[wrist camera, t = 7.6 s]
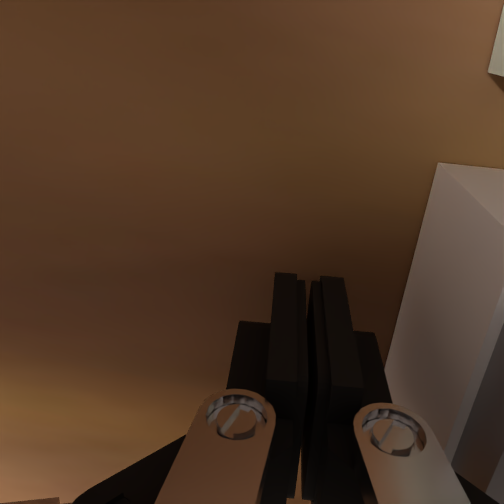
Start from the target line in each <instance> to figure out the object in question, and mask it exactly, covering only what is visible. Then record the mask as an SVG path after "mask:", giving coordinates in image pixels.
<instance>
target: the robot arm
mask: <svg viewBox="0 0 504 504" xmlns="http://www.w3.org/2000/svg"><path fill="white" fill-rule="evenodd" d="M300 449H301V481H302V499H303V500H311V504H500V503H498V502H497V501H495V500H494V499H493V498H491V497H490V496H488V495H487V494H486V493H484V492H483V491H481V490H480V489H479V488H477V487H476V486H474V485H473V484H472V483H470V482H469V481H467V480H466V479H465V478H463V477H462V476H460V475H459V474H458V473H456V472H455V471H454V470H453V468H452V467H451V465H450V463H449V461H448V459H447V457H446V455H445V453H444V451H443V449H442V448H441V446H440V444H439V442H438V440H437V438H436V436H435V434H434V432H433V431H432V429H431V428H430V426H429V425H428V424H427V422H426V421H425V420H424V419H422V418H421V417H420V416H419V415H418V414H416V413H415V412H413V411H411V410H409V409H407V408H405V407H402V406H399V405H396V404H393V402H392V398H391V394H390V390H389V387H388V383H387V379H386V375H385V371H384V367H383V363H382V359H381V355H380V351H379V347H378V343H377V340H376V336H375V334H374V333H373V332H362V331H353V326H352V321H351V315H350V310H349V305H348V299H347V294H346V289H345V283H344V279H343V278H340V277H328V276H321V277H320V281H312V282H311V288H310V296H309V305H308V314H307V318H306V290H305V280H297V274H291V273H279V272H275V279H274V291H273V303H272V315H271V323H259V322H248V321H239V325H238V330H237V335H236V341H235V346H234V351H233V356H232V362H231V367H230V372H229V378H228V383H227V388H226V390H222V391H220V392H217V393H214V394H212V395H211V396H210V397H208V398H207V399H205V400H204V402H203V403H202V405H201V406H200V407H199V409H198V411H197V413H196V416H195V418H194V420H193V422H192V424H191V426H190V428H189V431H188V433H187V434H186V435H184V436H183V437H181V438H179V439H177V440H176V441H174V442H172V443H170V444H168V445H167V446H165V447H163V448H161V449H159V450H158V451H156V452H154V453H152V454H151V455H149V456H147V457H145V458H143V459H142V460H140V461H138V462H136V463H135V464H133V465H131V466H129V467H127V468H126V469H124V470H122V471H120V472H118V473H117V474H115V475H113V476H111V477H110V478H108V479H106V480H104V481H102V482H101V483H99V484H97V485H95V486H93V487H92V488H90V489H88V490H87V491H86V492H84V493H83V494H81V495H80V496H79V497H77V498H76V499H75V501H74V502H73V503H64V504H286V499H287V498H294V496H295V489H296V481H297V473H298V465H299V457H300ZM0 504H60V500H59V497H56V498H46V499H37V500H27V501H18V502H8V503H0Z"/></svg>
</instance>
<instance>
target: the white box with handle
mask: <svg viewBox="0 0 504 504" xmlns="http://www.w3.org/2000/svg"><path fill="white" fill-rule="evenodd" d="M384 371H385V375H386V379H387V383H388V387H389V390H390V394H391V398H392V402H393V404H396V405H399V406H402V407H405V408H407V409H409V410H411V411H413V412H415V413H416V414H418V415H419V416H420V417H421V418H422V419H424V420H425V421H426V422H427V424H428V425H429V426H430V428H431V429H432V431H433V432H434V434H435V436H436V438H437V440H438V442H439V444H440V446H441V448H442V449H443V451H444V453H445V455H446V457H447V459H448V461H449V463H450V465H451V467H452V468H453V470H454V471H455V472H456V473H458V474H459V475H460V476H462V477H463V478H465V479H466V480H467V481H469V482H470V483H472V484H473V485H474V486H476V487H477V488H479V489H480V490H481V491H483V492H484V493H486V494H487V495H488V496H490V497H491V498H493V499H494V500H495V501H497V502H498V503H500V504H504V169H496V168H487V167H477V166H468V165H458V164H449V163H439V162H438V164H437V168H436V172H435V176H434V180H433V184H432V187H431V191H430V195H429V199H428V203H427V207H426V211H425V215H424V218H423V222H422V226H421V230H420V234H419V238H418V242H417V245H416V249H415V253H414V257H413V261H412V265H411V269H410V272H409V276H408V280H407V284H406V288H405V292H404V296H403V299H402V303H401V307H400V311H399V315H398V319H397V323H396V326H395V330H394V334H393V338H392V342H391V346H390V350H389V354H388V357H387V361H386V365H385V369H384Z"/></svg>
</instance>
